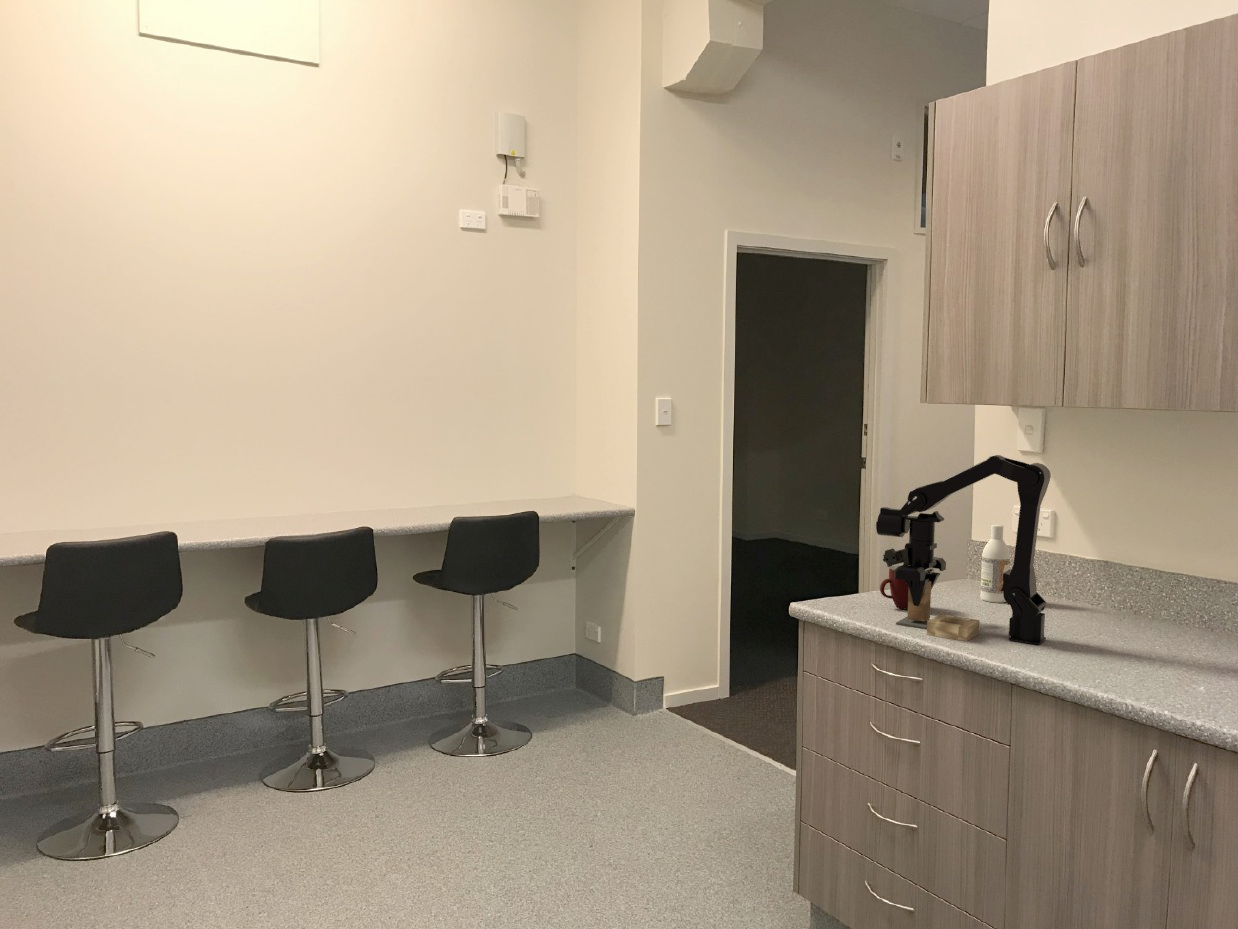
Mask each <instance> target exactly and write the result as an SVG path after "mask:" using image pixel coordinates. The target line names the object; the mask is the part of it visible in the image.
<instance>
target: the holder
mask: <svg viewBox="0 0 1238 929" xmlns="http://www.w3.org/2000/svg"><path fill="white" fill-rule="evenodd" d="M979 633H980V619H974V618H969V617H968V618H967V617H961V616H955V615H948V614H939V615H937V616H935V617H934V618H932V619H931V620H930V621H928V622H927V629H926V635H927V636H931V637H932V636H934V637H938V638H943V639H944V638H946V639H952V640H957V641H962V642H968V641H970V640H971V639H972V638H974V637H975V636H976V635H978V634H979Z"/></svg>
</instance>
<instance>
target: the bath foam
mask: <svg viewBox="0 0 1238 929" xmlns="http://www.w3.org/2000/svg"><path fill="white" fill-rule="evenodd" d="M990 531H991V532H990V538H989V540H988V542H987V543H986V544H985V546H984V548H983V551H982V555H981V571H980V572H981V573H980V596H979V597H980V599H981V600H983V601H985V602H987V603H988V602H989V603H998V604H1000V603H1001V604H1003V603H1007V602H1006V600H1005V599H1004V596H1003V592H1004V591H1001V589H1002V586H1003V573H1005V572H1006V571H1008V570H1009V569H1010V570H1011V553H1010V550H1009V547H1008V546H1007V543H1006V542H1005V540H1004V525H1002V524H991V530H990Z"/></svg>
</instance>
